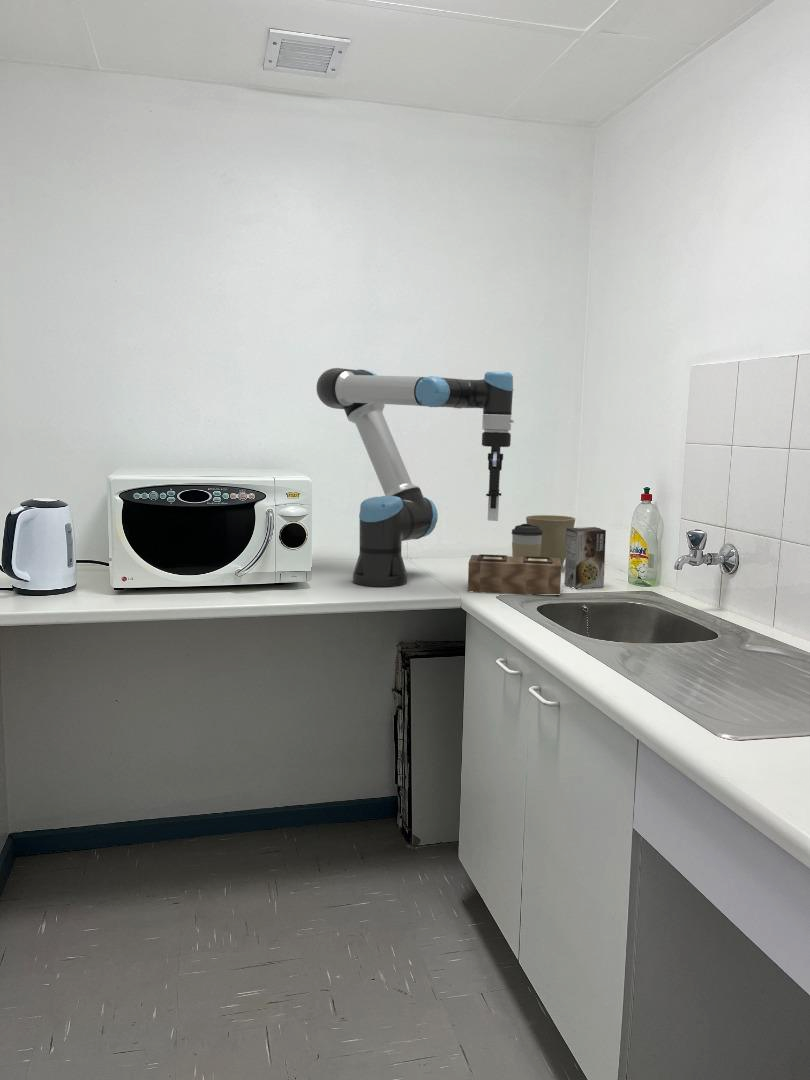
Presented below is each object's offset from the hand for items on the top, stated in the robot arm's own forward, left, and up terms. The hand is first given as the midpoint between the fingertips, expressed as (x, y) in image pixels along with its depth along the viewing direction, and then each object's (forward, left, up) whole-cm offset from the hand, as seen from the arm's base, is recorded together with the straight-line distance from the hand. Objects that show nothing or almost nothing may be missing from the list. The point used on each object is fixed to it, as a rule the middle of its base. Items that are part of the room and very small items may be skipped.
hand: (492, 520), depth 221 cm
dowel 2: (+12, 0, -17) cm, 21 cm away
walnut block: (+6, 0, -19) cm, 20 cm away
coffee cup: (+9, +21, -19) cm, 30 cm away
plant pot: (+16, +35, -19) cm, 43 cm away
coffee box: (+25, +9, -19) cm, 33 cm away
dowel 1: (0, 0, -17) cm, 17 cm away
